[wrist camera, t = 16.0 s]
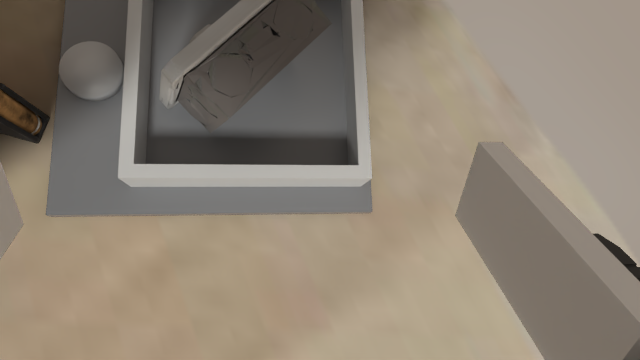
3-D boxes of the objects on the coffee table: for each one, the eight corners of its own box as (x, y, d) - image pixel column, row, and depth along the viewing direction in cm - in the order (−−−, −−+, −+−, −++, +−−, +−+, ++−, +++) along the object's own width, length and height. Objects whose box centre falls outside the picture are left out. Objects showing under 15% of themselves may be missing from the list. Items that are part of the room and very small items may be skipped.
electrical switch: (260, 14, 31) (276, -77, 22) (312, 67, 31) (350, -1, 22) (158, 102, 29) (130, 41, 20) (216, 159, 29) (215, 123, 20)
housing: (51, 216, 27) (22, 208, 23) (74, -44, 30) (51, -84, 27) (369, 213, 30) (384, 205, 27) (357, -23, 33) (369, -56, 30)
